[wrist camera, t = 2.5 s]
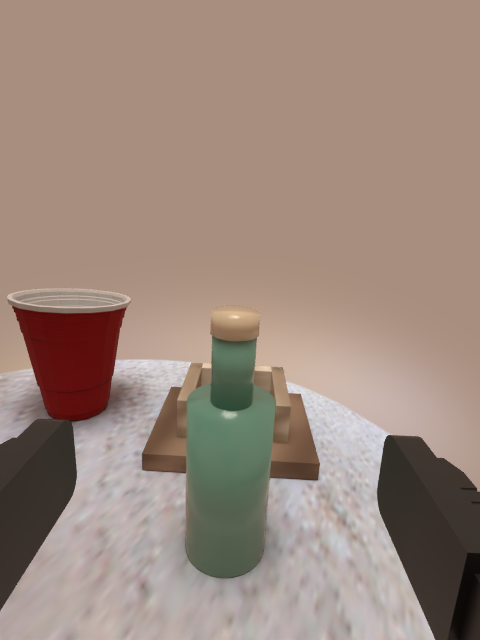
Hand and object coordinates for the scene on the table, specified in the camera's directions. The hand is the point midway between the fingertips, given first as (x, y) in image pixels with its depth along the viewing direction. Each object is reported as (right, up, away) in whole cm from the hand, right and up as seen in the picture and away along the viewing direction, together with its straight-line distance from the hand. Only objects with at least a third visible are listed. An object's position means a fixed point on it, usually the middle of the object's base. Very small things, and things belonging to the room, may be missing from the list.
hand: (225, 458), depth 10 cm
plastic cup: (-16, -6, +30) cm, 35 cm away
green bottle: (-1, -11, +15) cm, 18 cm away
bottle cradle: (0, -7, +27) cm, 28 cm away
